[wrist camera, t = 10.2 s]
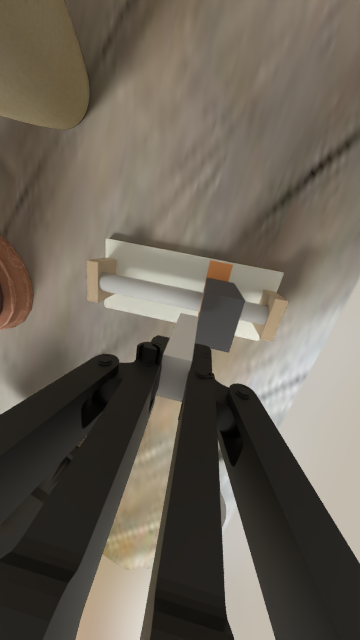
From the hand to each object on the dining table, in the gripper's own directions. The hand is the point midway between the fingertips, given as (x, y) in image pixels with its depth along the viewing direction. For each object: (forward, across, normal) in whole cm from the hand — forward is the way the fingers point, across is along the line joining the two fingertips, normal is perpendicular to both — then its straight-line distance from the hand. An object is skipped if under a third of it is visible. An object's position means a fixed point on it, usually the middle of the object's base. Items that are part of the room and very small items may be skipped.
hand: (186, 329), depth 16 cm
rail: (+13, -2, 0) cm, 13 cm away
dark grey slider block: (+11, +3, 0) cm, 11 cm away
